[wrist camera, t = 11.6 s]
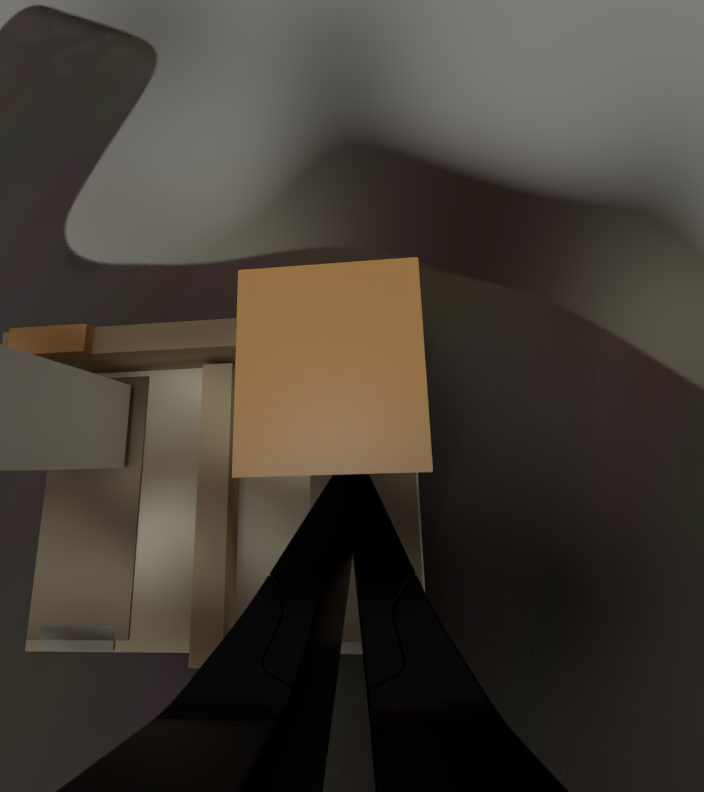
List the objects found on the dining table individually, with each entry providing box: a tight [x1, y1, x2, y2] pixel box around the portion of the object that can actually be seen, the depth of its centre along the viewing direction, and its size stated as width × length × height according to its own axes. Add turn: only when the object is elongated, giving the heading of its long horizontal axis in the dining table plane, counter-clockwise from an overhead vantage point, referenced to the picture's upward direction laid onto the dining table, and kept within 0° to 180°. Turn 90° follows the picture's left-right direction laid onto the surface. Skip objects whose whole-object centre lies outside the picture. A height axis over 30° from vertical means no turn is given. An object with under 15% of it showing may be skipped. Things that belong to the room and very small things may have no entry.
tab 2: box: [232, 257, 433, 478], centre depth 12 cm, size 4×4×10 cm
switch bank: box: [2, 318, 425, 668], centre depth 16 cm, size 14×18×4 cm
